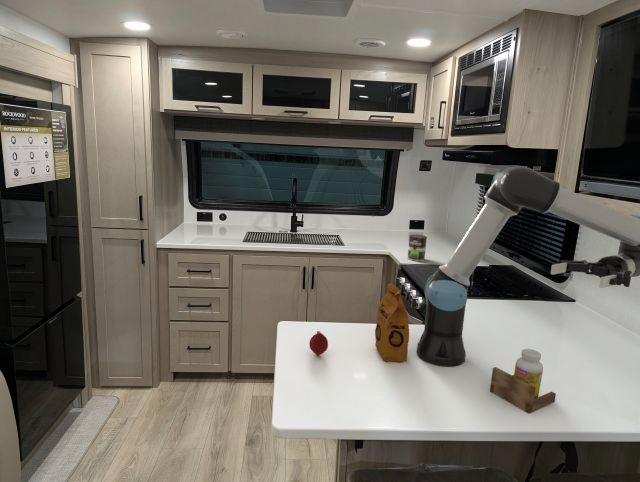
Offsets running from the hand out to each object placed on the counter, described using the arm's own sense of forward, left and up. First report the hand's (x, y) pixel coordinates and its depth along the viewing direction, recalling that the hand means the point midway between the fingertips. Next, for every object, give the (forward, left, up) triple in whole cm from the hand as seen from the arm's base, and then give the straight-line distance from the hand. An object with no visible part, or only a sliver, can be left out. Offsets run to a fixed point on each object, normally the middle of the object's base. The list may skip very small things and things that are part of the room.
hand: (575, 275), depth 124 cm
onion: (-46, -54, -32) cm, 78 cm away
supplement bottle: (0, -16, -32) cm, 36 cm away
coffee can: (-128, +66, -32) cm, 148 cm away
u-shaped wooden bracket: (0, -17, -32) cm, 36 cm away
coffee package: (-36, -33, -32) cm, 58 cm away
